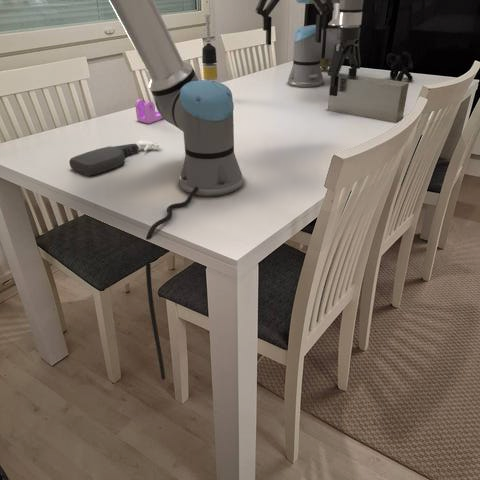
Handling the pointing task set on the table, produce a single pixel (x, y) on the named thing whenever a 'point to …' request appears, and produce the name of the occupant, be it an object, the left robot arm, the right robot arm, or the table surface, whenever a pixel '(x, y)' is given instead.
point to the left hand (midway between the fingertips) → (293, 43)
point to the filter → (209, 57)
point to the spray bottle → (106, 157)
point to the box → (369, 97)
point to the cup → (325, 64)
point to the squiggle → (399, 66)
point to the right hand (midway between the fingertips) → (342, 91)
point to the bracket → (146, 111)
